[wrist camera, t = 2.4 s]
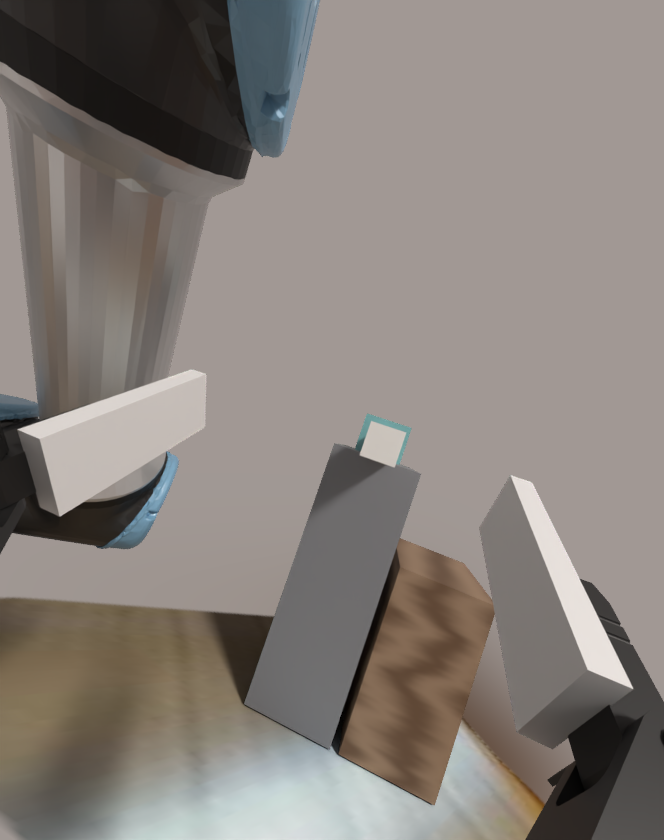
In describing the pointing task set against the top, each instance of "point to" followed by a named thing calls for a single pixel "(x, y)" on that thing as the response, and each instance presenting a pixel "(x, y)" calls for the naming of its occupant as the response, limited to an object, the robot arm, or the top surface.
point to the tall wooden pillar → (416, 670)
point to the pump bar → (382, 440)
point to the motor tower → (332, 593)
